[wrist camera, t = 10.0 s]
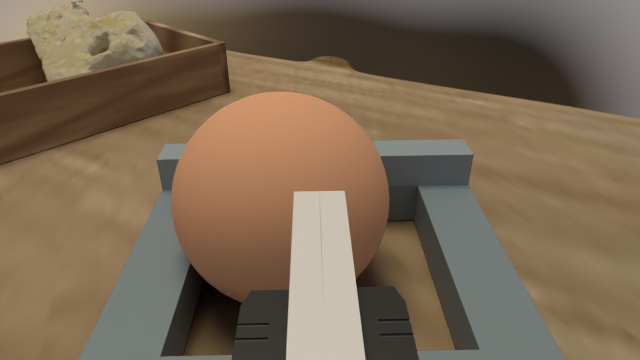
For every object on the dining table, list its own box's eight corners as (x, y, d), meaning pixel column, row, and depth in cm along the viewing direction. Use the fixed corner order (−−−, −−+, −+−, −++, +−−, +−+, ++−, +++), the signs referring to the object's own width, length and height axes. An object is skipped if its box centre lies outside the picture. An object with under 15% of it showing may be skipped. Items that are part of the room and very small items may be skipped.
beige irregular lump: (183, 141, 46) (192, 14, 51) (131, 105, 39) (147, -37, 45) (56, 168, 50) (77, 48, 56) (-10, 139, 44) (21, 7, 49)
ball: (433, 105, 24) (407, 296, 25) (269, 88, 29) (257, 250, 30) (330, 97, 15) (302, 386, 17) (123, 76, 20) (119, 300, 22)
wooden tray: (230, 91, 50) (225, 42, 47) (-29, 173, 35) (-56, 109, 33) (149, 59, 60) (141, 18, 57) (-80, 113, 45) (-104, 61, 43)
